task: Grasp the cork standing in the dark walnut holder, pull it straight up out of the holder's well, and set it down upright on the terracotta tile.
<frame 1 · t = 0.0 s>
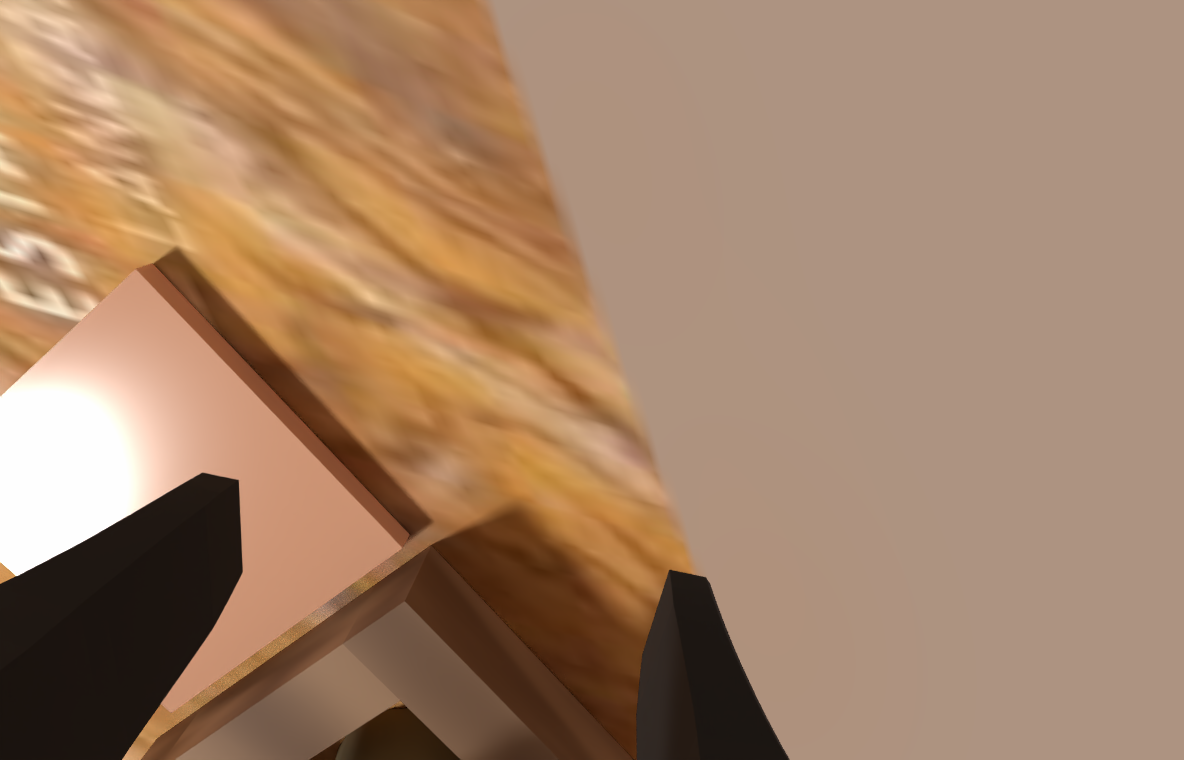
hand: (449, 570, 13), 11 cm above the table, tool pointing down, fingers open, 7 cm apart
terracotta tile: (169, 502, 25), on the table
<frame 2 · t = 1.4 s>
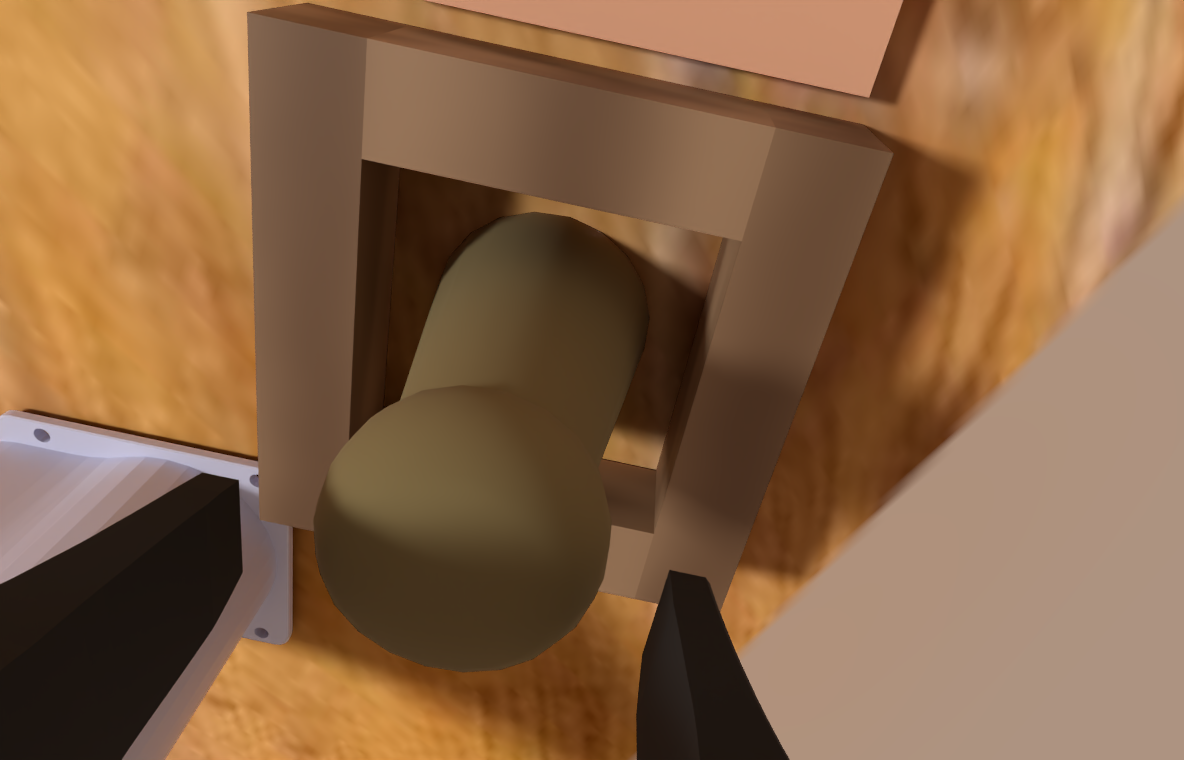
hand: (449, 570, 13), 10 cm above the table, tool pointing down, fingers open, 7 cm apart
walnut holder: (541, 317, 22), on the table
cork: (542, 314, 22), resting in walnut holder
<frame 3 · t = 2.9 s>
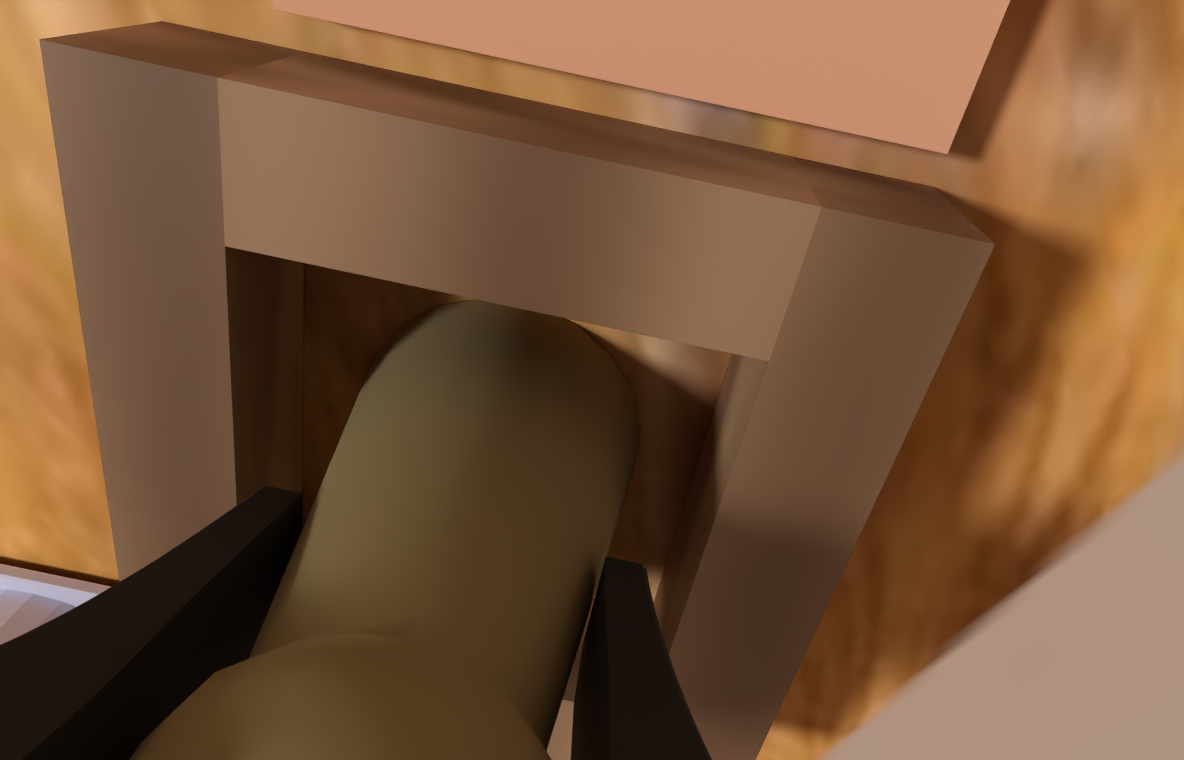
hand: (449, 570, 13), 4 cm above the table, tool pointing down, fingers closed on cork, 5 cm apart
walnut holder: (499, 428, 17), on the table
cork: (501, 423, 17), resting in walnut holder, touching gripper
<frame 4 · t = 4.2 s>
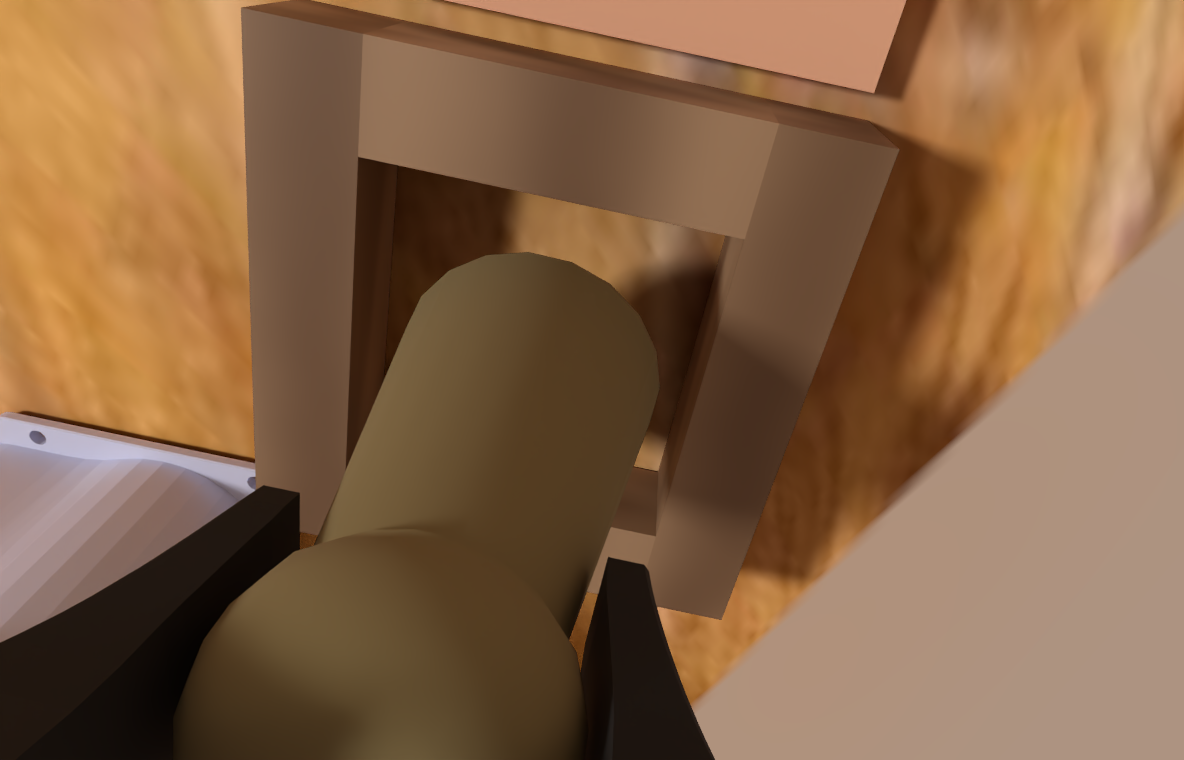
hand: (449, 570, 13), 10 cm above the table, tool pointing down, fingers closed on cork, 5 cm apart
walnut holder: (541, 317, 22), on the table
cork: (531, 370, 18), point 4 cm above the table, touching gripper
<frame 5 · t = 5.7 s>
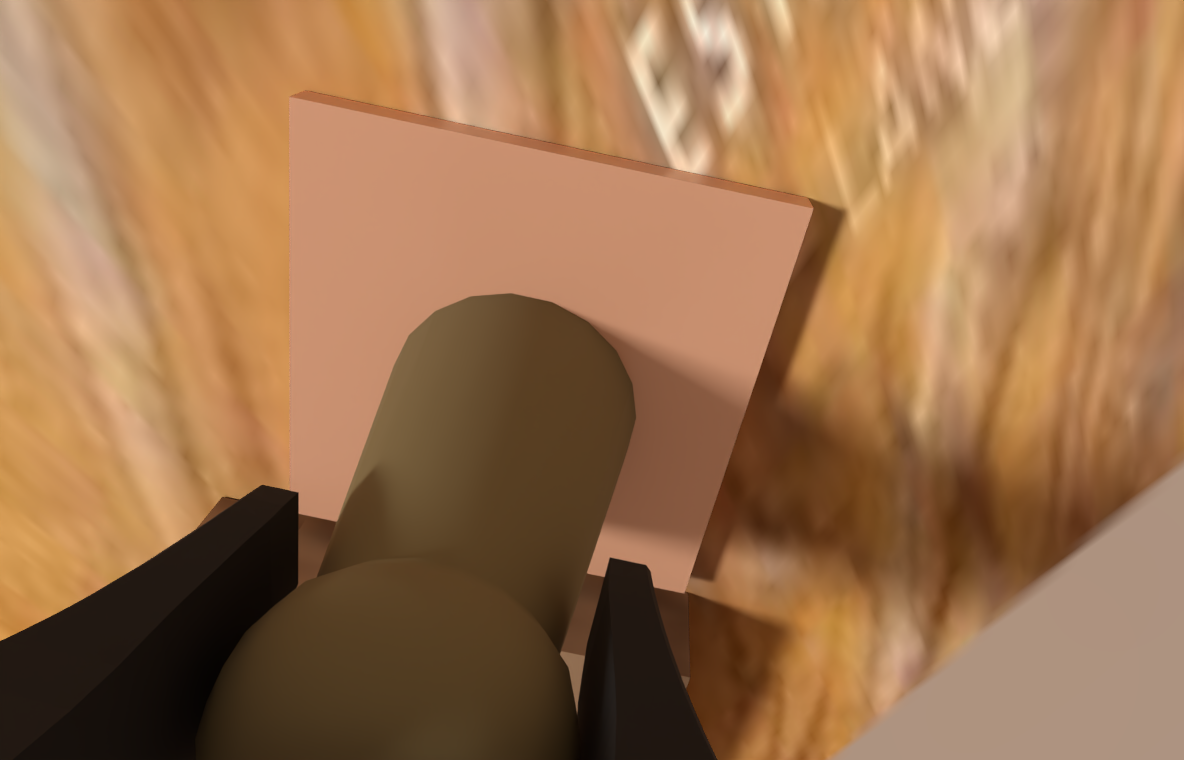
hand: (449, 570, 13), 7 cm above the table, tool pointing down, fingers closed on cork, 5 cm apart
walnut holder: (435, 700, 26), on the table
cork: (513, 403, 19), point 1 cm above the table, touching gripper, terracotta tile
terracotta tile: (521, 365, 20), on the table
when the fingers open (6 cm above the table, at t = 6.8 s): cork stays where it is, resting on terracotta tile.
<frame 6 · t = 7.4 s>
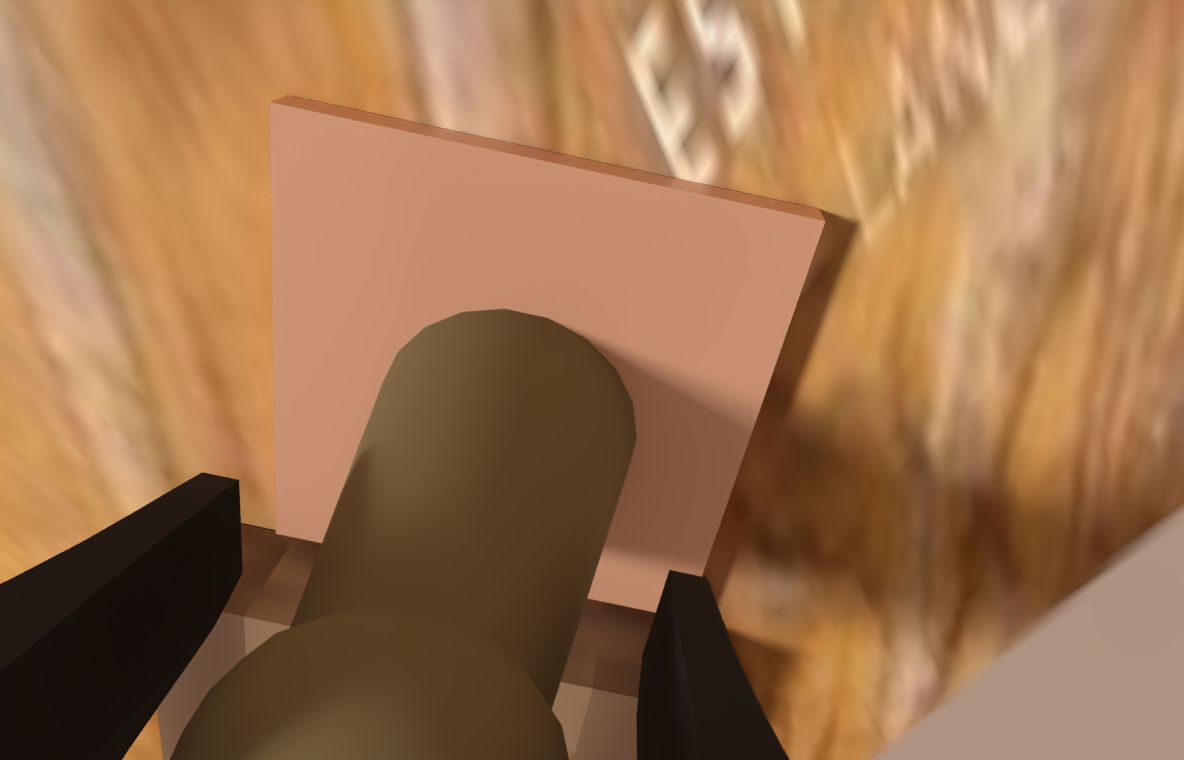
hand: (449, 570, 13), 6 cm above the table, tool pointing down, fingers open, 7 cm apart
walnut holder: (428, 725, 25), on the table
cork: (508, 423, 18), point 1 cm above the table, touching terracotta tile
terracotta tile: (516, 383, 19), on the table
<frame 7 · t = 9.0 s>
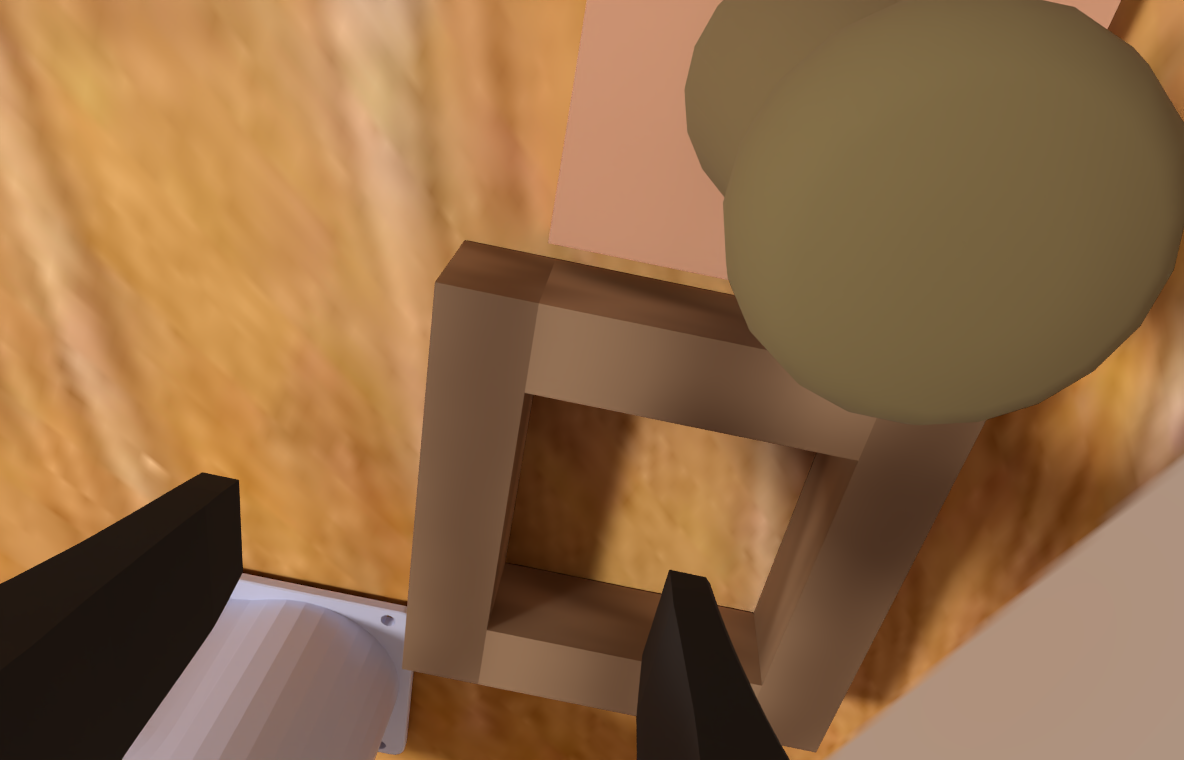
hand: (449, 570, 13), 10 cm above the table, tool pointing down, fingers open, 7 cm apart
walnut holder: (657, 488, 25), on the table
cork: (816, 94, 18), point 1 cm above the table, touching terracotta tile
terracotta tile: (822, 56, 18), on the table
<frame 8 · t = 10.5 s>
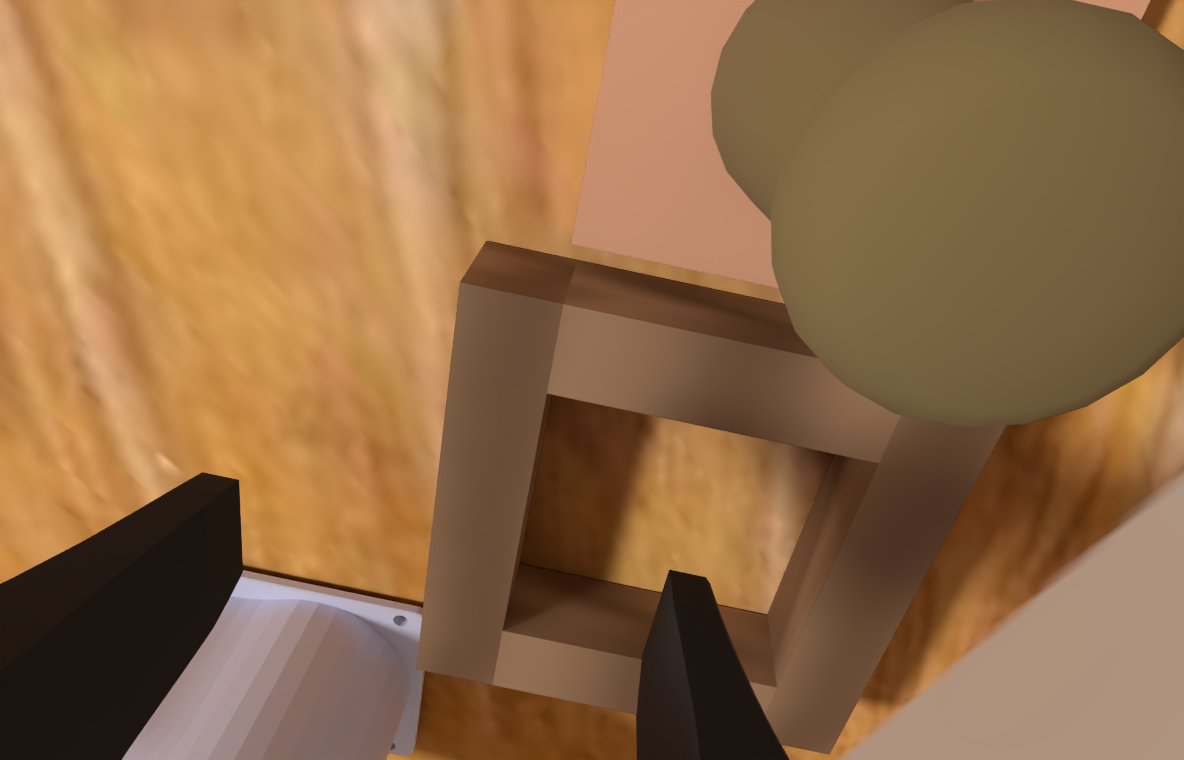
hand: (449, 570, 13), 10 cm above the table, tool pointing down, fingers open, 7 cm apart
walnut holder: (673, 490, 25), on the table
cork: (842, 98, 18), point 1 cm above the table, touching terracotta tile
terracotta tile: (847, 60, 18), on the table
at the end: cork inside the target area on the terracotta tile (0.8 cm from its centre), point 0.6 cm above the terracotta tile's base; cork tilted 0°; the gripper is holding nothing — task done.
